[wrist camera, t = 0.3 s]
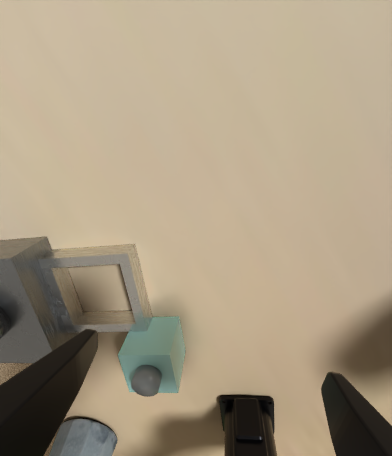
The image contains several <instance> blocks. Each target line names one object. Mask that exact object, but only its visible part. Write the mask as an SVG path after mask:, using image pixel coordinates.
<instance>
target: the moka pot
mask: <svg viewBox="0 0 392 456" xmlns="http://www.w3.org/2000/svg"><path fill="white" fill-rule="evenodd" d="M116 444H117V437H116V435H115V434H114V432H113V431H112V430H111V429H110V428H108V427H107V426H105V425H102V424H100V423H98V422H96V421H92V420H88V419H72V420H69V421H66V422H64V423H61V426H60V428H59V431H58V433H57V435H56V438H55V441H54V443H53V446H52V449H51V451H50V454H49V456H112V454H113V451H114V449H115V446H116Z"/></svg>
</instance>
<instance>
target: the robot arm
mask: <svg viewBox="0 0 392 456" xmlns="http://www.w3.org/2000/svg"><path fill="white" fill-rule="evenodd" d="M97 348H98V335H97V331H96V330H94V329H85V330H83V331H82V332H80V333H79V334H77V335H76V336H74V337H73V338H71V339H70V340H68V341H67V342H65V343H64V344H62V345H61V346H59V347H57V348H56V349H54V350H53V351H51V352H50V353H48V354H47V355H45V356H44V357H42V358H41V359H39V360H38V361H36V362H35V363H33V364H32V365H30V366H29V367H27V368H26V369H24V370H23V371H21V372H20V373H18V374H17V375H15V376H14V377H12V378H10V379H9V380H7V381H6V382H4V383H3V384H1V385H0V456H44V454H45V452H46V450H47V448H48V447H49V445H50V443H51V441H52V439H53V438H54V436H55V434H56V432H57V430H58V429H59V427H60V425H61V423H62V421H63V420H64V418H65V416H66V414H67V412H68V411H69V409H70V407H71V405H72V403H73V402H74V400H75V398H76V396H77V394H78V392H79V390H80V388H81V386H82V384H83V381H84V379H85V377H86V374H87V372H88V370H89V368H90V365H91V363H92V361H93V358H94V356H95V354H96V352H97ZM321 392H322V397H323V402H324V407H325V412H326V416H327V421H328V426H329V430H330V435H331V439H332V443H333V446H334V450H335V453H336V456H392V426H391V425H390V424H389V423H388V422H387V421H386V420H385V418H384V417H383V416H382V415H381V414H380V413H379V412H378V411H377V410H376V409H375V408H374V407H373V406H372V405H371V404H370V403H369V402H368V401H367V400H366V399H365V398H364V397H363V396H362V395H361V394H360V393H359V392H358V391H357V390H356V389H355V388H354V387H353V386H352V385H351V384H350V383H349V382H348V381H347V379H346V378H345V377H344V376H343V375H341V374H340V373H335V372H328V373H327V375H326V378H325V380H324V382H323V384H322V388H321ZM219 402H220V410H221V417H222V424H223V431H224V432H225V456H277V453H276V446H275V440H274V401H273V398H271V397H251V396H221V397H220V399H219Z"/></svg>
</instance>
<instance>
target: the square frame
mask: <svg viewBox="0 0 392 456" xmlns="http://www.w3.org/2000/svg"><path fill="white" fill-rule="evenodd" d="M110 264H120V267H121V270H122V274H123V278H124V281H125V285H126V289H127V293H128V296H129V300H130V304H131V307H132V311H108V312H83V310H82V307H81V304H80V302H79V299H78V296H77V293H76V290H75V288H74V285H73V282H72V279H71V277H70V274H69V271H68V268H67V267H77V266H93V265H110ZM152 318H153V317H152V313H151V309H150V305H149V300H148V296H147V292H146V288H145V284H144V279H143V275H142V271H141V267H140V263H139V258H138V254H137V250H136V246H135V244H128V245H114V246H100V247H86V248H73V249H59V250H52V249H51V246H50V244H49V241H48V239H47V237H37V238H24V239H12V240H0V363H35V362H36V361H38V360H39V359H41V358H42V357H44V356H45V355H47V354H48V353H50V352H51V351H53V350H54V349H56V348H57V347H59V346H61V345H62V344H64V343H65V342H67V341H68V340H70V339H71V338H73V337H74V336H76V335H77V334H79V333H80V332H82V331H83V330H85V329H94V330H96V331H97V332H132V331H148V328H149V325H150V323H151V320H152Z"/></svg>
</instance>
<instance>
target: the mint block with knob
mask: <svg viewBox="0 0 392 456" xmlns="http://www.w3.org/2000/svg"><path fill="white" fill-rule="evenodd" d="M185 351H186V350H185V345H184V340H183V334H182V329H181V324H180V319H179V316H177V317H153V318H152V320H151V323H150V325H149V328H148V331H132V332H128V334H127V337H126V339H125V341H124V343H123V345H122V347H121V349H120V351H119V353H118V358H119V361H120V364H121V367H122V370H123V373H124V376H125V379H126V382H127V385H128V388H129V391H130V392H136V393H137V394H139V395H142V396H154V395H156V394H157V393H178V391H179V386H180V380H181V374H182V368H183V363H184V357H185Z"/></svg>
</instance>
